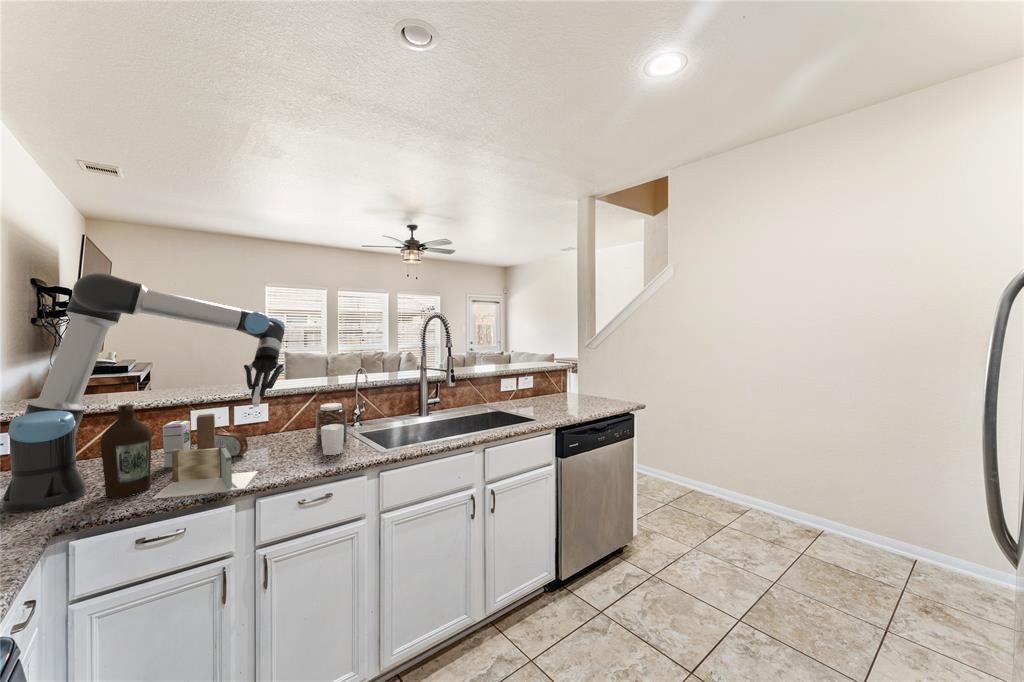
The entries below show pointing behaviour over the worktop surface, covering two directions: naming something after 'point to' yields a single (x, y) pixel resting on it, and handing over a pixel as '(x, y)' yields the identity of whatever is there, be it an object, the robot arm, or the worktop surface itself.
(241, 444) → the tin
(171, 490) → the card
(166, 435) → the syrup box
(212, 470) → the fixed fence section
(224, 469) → the hinged fence section
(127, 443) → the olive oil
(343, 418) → the jar
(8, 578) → the worktop surface
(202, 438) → the wooden block
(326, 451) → the white cup
